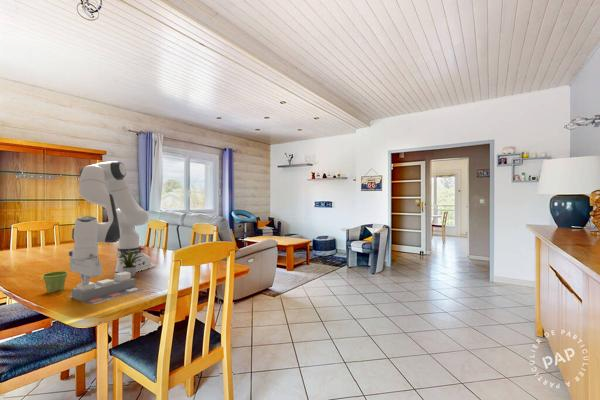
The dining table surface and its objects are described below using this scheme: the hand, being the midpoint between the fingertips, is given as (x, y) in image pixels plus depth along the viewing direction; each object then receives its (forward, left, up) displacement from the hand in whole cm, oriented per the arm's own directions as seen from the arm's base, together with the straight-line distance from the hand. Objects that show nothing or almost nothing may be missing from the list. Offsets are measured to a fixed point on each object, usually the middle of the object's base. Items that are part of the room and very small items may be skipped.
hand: (85, 283), depth 125 cm
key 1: (0, 0, -5) cm, 5 cm away
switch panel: (-8, +2, -7) cm, 11 cm away
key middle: (-8, 0, -6) cm, 10 cm away
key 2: (-16, 0, -4) cm, 17 cm away
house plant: (-29, -17, -7) cm, 35 cm away
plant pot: (+2, -24, -7) cm, 25 cm away
